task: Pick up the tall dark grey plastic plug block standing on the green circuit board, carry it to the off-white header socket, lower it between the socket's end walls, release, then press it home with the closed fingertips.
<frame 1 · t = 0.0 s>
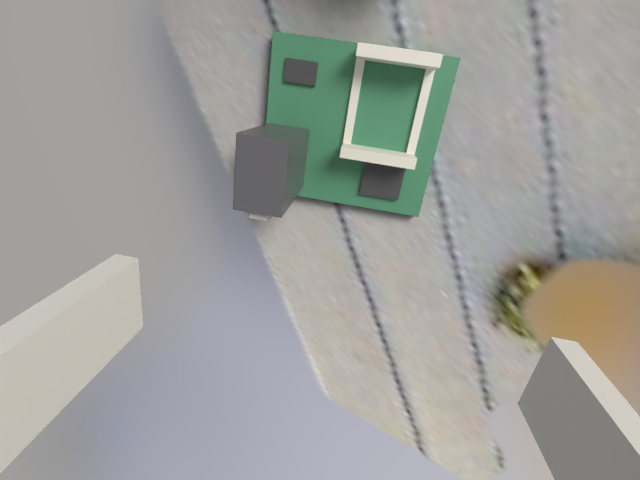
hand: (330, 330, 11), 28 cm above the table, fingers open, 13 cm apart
board: (351, 129, 36), on the table
plug: (287, 156, 36), point 1 cm above the table, touching board
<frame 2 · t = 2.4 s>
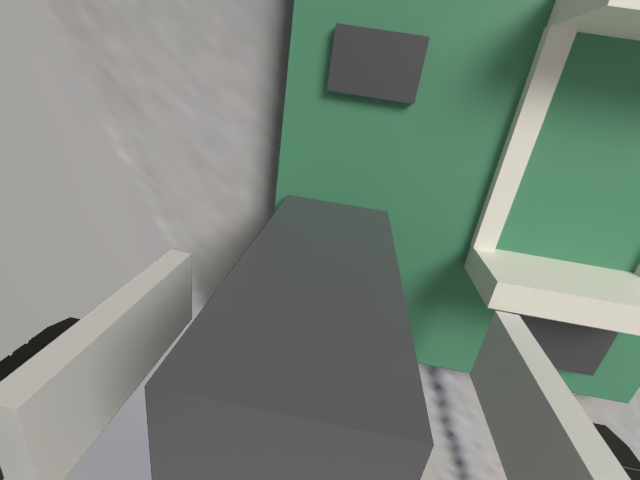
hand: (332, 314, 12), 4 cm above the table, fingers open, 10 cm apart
board: (485, 207, 15), on the table
plug: (326, 269, 15), point 1 cm above the table, touching board
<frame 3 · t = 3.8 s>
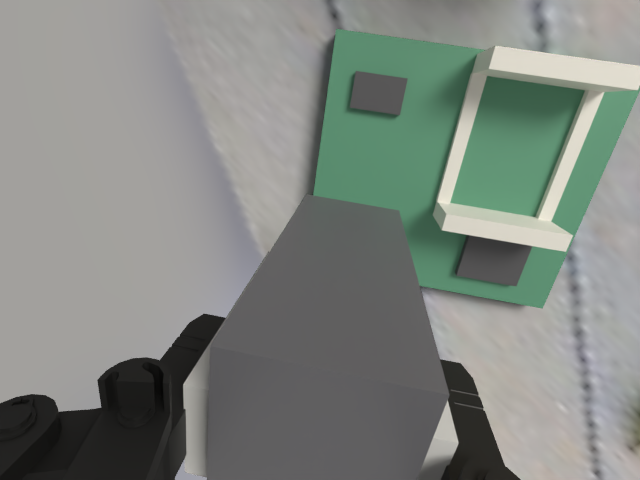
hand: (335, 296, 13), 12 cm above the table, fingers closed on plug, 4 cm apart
board: (445, 179, 23), on the table
plug: (340, 264, 16), point 9 cm above the table, touching gripper
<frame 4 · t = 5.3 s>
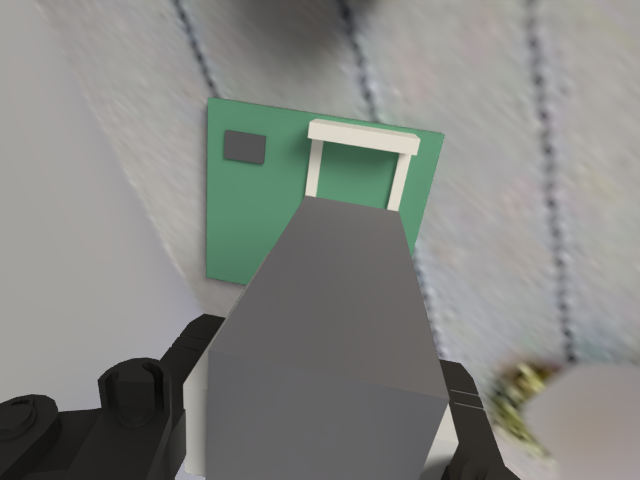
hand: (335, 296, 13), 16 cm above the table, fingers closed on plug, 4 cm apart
board: (312, 210, 29), on the table
plug: (340, 265, 16), point 13 cm above the table, touching gripper
when the fingers open (4 cm above the table, at t = 7.1 s): plug stays where it is, resting on board.
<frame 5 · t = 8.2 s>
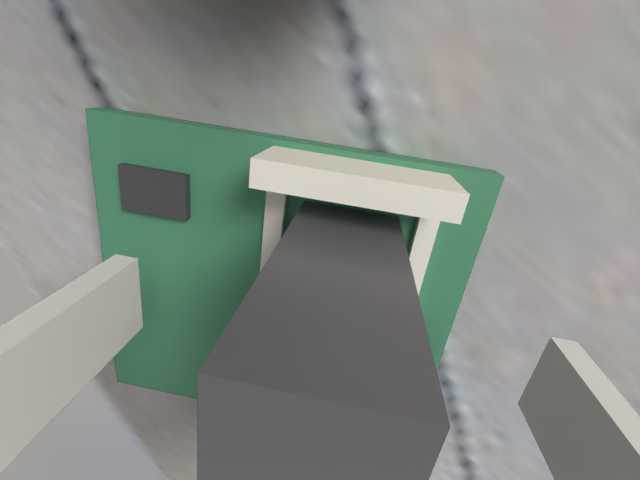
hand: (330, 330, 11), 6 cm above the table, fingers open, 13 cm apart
board: (276, 287, 18), on the table
plug: (339, 271, 16), point 1 cm above the table, touching board
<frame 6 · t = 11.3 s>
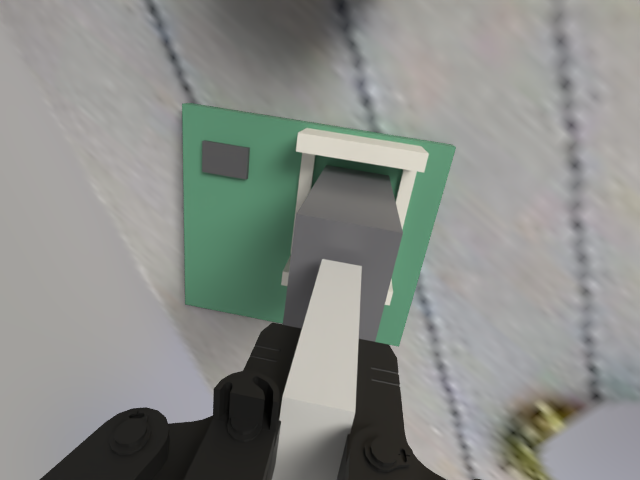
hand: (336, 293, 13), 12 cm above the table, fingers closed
board: (304, 230, 25), on the table
plug: (349, 214, 23), point 1 cm above the table, touching board
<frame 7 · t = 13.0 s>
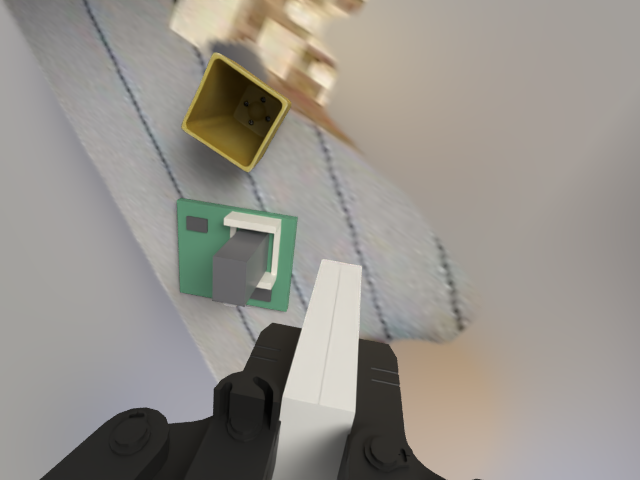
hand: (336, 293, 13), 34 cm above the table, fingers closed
flower pot: (258, 112, 45), on the table
board: (236, 255, 53), on the table
plug: (254, 248, 50), point 1 cm above the table, touching board
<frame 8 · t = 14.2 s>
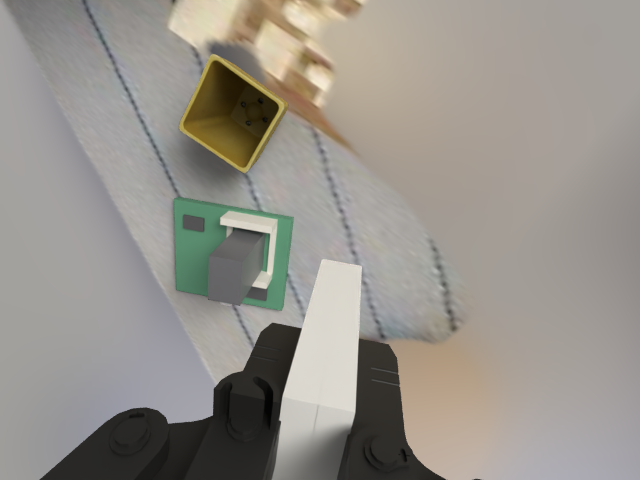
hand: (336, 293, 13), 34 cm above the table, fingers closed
flower pot: (255, 113, 45), on the table
board: (233, 254, 53), on the table
plug: (250, 247, 51), point 1 cm above the table, touching board
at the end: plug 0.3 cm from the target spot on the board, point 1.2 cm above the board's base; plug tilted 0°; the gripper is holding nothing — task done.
